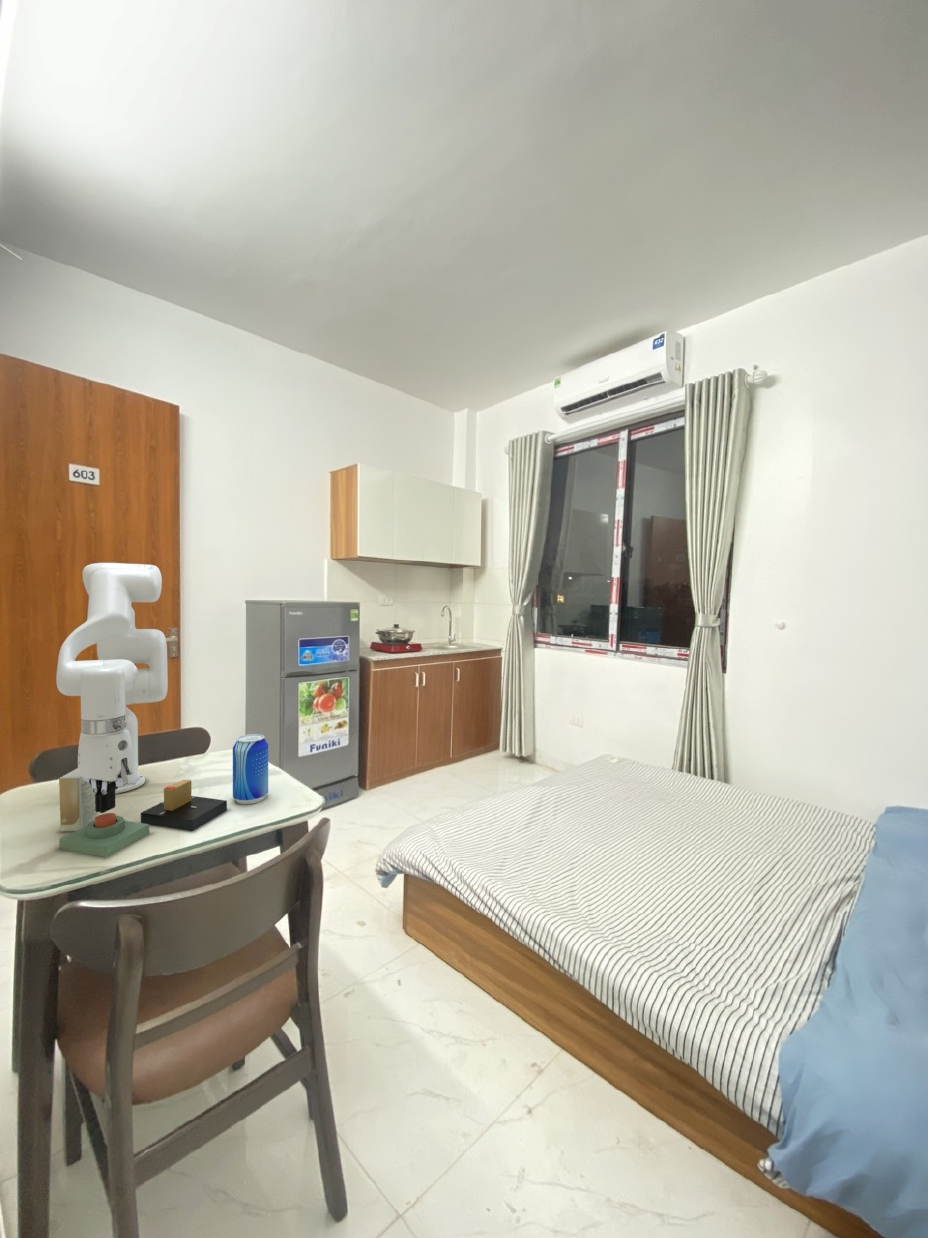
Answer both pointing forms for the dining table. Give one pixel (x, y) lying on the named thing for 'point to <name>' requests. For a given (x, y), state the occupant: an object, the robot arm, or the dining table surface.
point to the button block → (104, 837)
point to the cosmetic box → (76, 802)
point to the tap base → (185, 814)
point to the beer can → (250, 769)
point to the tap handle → (177, 795)
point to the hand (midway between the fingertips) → (105, 809)
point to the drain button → (105, 820)
